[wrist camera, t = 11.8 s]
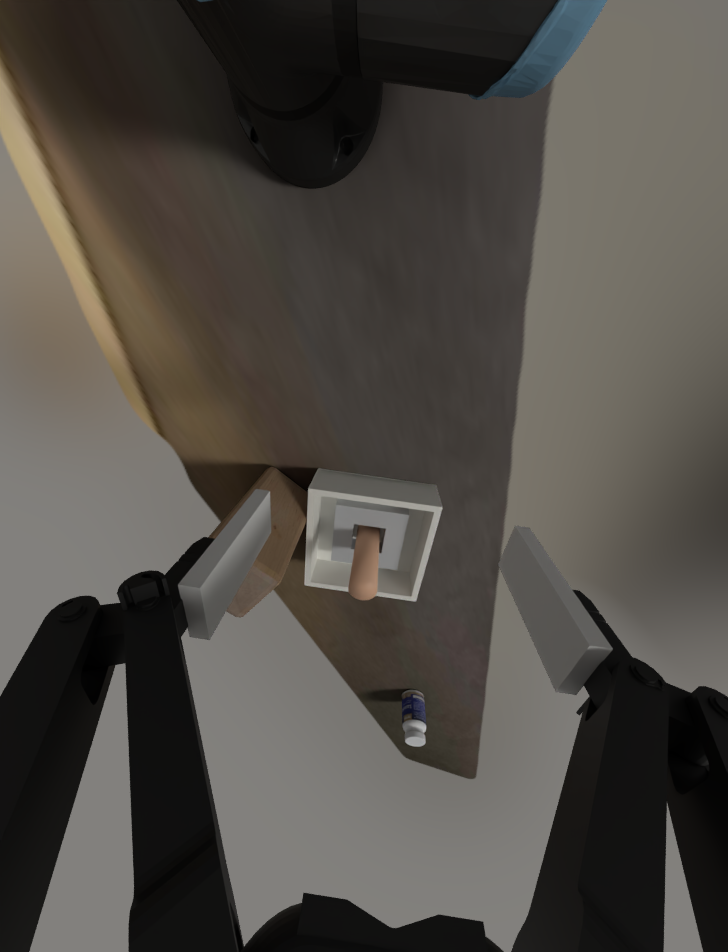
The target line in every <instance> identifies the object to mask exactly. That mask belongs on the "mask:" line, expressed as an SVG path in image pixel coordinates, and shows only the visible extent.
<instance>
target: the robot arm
mask: <svg viewBox="0 0 728 952" xmlns="http://www.w3.org/2000/svg"><path fill="white" fill-rule="evenodd" d="M177 1H178V2H179V4H180V5H181V7H182V8H183V10H184V11H185V13H186V14H187V16H188V17H189V19H190V20H191V22H192V23H193V25H194V26H195V27H196V29H197V30H198V32H199V33H200V35H201V36H202V38H203V39H204V41H205V42H206V44H207V45H208V47H209V48H210V50H211V51H212V53H213V54H214V56H215V57H216V58H217V60H218V61H219V63H220V64H221V66H222V67H223V69H224V70H225V72H226V74H227V78H228V82H229V87H230V91H231V95H232V100H233V103H234V107H235V110H236V113H237V115H238V118H239V120H240V123H241V125H242V127H243V129H244V131H245V133H246V135H247V137H248V139H249V141H250V142H251V144H252V145H253V147H254V148H255V150H256V151H257V152H258V154H259V155H260V156H261V158H262V159H263V160H264V161H265V163H266V164H267V165H268V166H269V167H270V168H271V169H272V170H273V171H274V172H275V173H276V174H277V175H279V176H280V177H281V178H283V179H284V180H286V181H288V182H290V183H292V184H294V185H297V186H301V187H305V188H321V187H325V186H329V185H331V184H334V183H336V182H338V181H339V180H341V179H343V178H344V177H345V176H347V175H348V174H349V173H350V172H351V171H352V170H353V169H354V168H355V167H356V166H357V164H358V163H359V162H360V161H361V159H362V158H363V156H364V155H365V153H366V151H367V149H368V147H369V145H370V143H371V141H372V138H373V136H374V133H375V130H376V127H377V123H378V119H379V115H380V109H381V102H382V88H383V82H386V83H393V84H400V85H408V86H415V87H422V88H429V89H436V90H443V91H450V92H457V93H464V94H469V96H470V97H471V98H473V99H476V100H480V99H486V98H488V97H490V96H499V97H515V98H522V97H525V96H527V95H530V94H533V93H535V92H536V91H538V90H540V89H541V88H543V87H544V86H545V85H546V84H548V83H549V82H550V81H551V80H552V79H553V78H554V77H555V76H556V75H557V74H558V72H559V71H560V70H561V69H562V68H563V67H564V65H565V64H566V63H567V61H568V60H569V59H570V57H571V56H572V55H573V53H574V52H575V51H576V49H577V48H578V47H579V45H580V44H581V42H582V40H583V39H584V37H585V36H586V34H587V33H588V31H589V30H590V28H591V27H592V25H593V23H594V22H595V20H596V18H597V17H598V15H599V14H600V12H601V10H602V8H603V7H604V5H605V3H606V2H607V0H177ZM270 533H271V507H270V491H267V490H260V489H255V491H254V492H253V493H252V494H251V496H250V497H249V498H248V499H247V500H246V502H245V503H244V504H243V505H242V507H241V508H240V509H239V510H238V511H237V513H236V514H235V515H234V516H233V518H232V519H231V520H230V521H229V523H228V524H227V525H226V526H225V527H224V529H223V530H222V531H221V532H220V534H219V535H218V536H217V537H216V538H215V539H214V538H207V537H203V538H202V539H200V540H198V541H197V542H195V543H193V544H192V545H191V547H190V548H189V549H188V550H187V551H186V552H185V554H183V555H182V556H181V558H180V559H179V561H178V562H176V563H175V564H174V565H173V566H172V568H171V569H170V570H169V571H168V572H167V573H166V574H165V575H164V574H163V573H161V572H159V571H145V572H141V573H138V574H135V575H133V576H131V577H130V578H128V579H127V580H125V581H124V582H123V583H122V584H121V585H120V587H119V589H118V592H117V594H118V597H119V600H120V603H114V604H106V605H100V604H99V602H98V600H97V599H96V598H95V597H92V596H79V597H76V598H72V599H69V600H67V601H65V602H63V603H61V604H59V605H58V606H56V607H55V608H54V609H52V610H51V611H50V612H49V614H48V615H47V616H46V617H45V619H44V620H43V622H42V624H41V626H40V628H39V629H38V631H37V633H36V635H35V636H34V638H33V640H32V642H31V643H30V645H29V647H28V649H27V650H26V652H25V654H24V656H23V657H22V659H21V661H20V663H19V664H18V666H17V668H16V670H15V671H14V673H13V675H12V677H11V678H10V680H9V682H8V684H7V686H6V687H5V689H4V691H3V693H2V694H1V696H0V952H29V951H30V947H31V944H32V941H33V937H34V934H35V930H36V927H37V924H38V920H39V917H40V914H41V910H42V907H43V904H44V901H45V897H46V894H47V891H48V887H49V884H50V880H51V877H52V874H53V871H54V867H55V864H56V861H57V858H58V854H59V851H60V847H61V844H62V841H63V838H64V834H65V831H66V827H67V824H68V821H69V817H70V814H71V811H72V808H73V804H74V801H75V798H76V794H77V791H78V788H79V784H80V781H81V778H82V774H83V771H84V768H85V764H86V761H87V758H88V754H89V751H90V748H91V745H92V741H93V738H94V735H95V731H96V728H97V725H98V721H99V718H100V715H101V711H102V708H103V705H104V701H105V698H106V695H107V691H108V688H109V685H110V681H111V678H112V675H113V671H114V668H115V665H117V664H123V663H126V689H127V715H128V740H129V766H130V790H131V817H132V842H133V867H134V899H133V903H132V906H131V910H130V916H129V952H503V951H502V950H501V949H500V948H499V947H498V946H497V945H496V944H495V943H493V942H492V941H491V940H490V939H488V938H487V937H485V930H484V924H483V922H481V921H475V920H469V919H462V918H456V917H451V916H444V915H436V916H433V917H430V918H427V919H424V920H421V921H418V922H414V923H412V924H409V925H405V926H402V927H399V928H391V927H389V926H387V925H385V924H384V923H382V922H381V921H379V920H378V919H376V918H375V917H373V916H371V915H370V914H368V913H367V912H365V911H364V910H362V909H361V908H359V907H357V906H356V905H354V904H353V903H351V902H350V901H348V900H345V899H339V898H332V897H327V896H321V895H314V894H308V893H304V894H303V899H302V903H300V904H297V905H294V906H290V907H289V908H287V909H285V910H283V911H281V912H279V913H278V914H277V915H275V916H274V917H272V918H271V919H270V920H268V921H267V922H266V923H265V924H264V925H263V926H262V927H261V928H260V929H259V930H258V931H257V932H256V933H255V934H254V935H253V937H252V938H251V939H250V940H249V941H248V943H247V944H246V945H245V946H244V945H243V940H242V935H241V930H240V925H239V920H238V916H237V910H236V905H235V901H234V896H233V891H232V887H231V882H230V878H229V874H228V869H227V864H226V860H225V854H224V849H223V845H222V839H221V834H220V829H219V825H218V819H217V814H216V810H215V804H214V799H213V794H212V789H211V785H210V779H209V775H208V770H207V765H206V760H205V755H204V750H203V745H202V740H201V735H200V730H199V725H198V720H197V715H196V710H195V705H194V700H193V695H192V690H191V685H190V680H189V675H188V670H187V665H186V660H185V655H184V651H183V645H182V640H181V636H182V635H183V633H184V632H185V630H186V629H187V627H188V631H189V636H190V637H194V638H200V639H207V640H210V638H211V637H212V635H213V633H214V631H215V630H216V628H217V626H218V624H219V623H220V621H221V619H222V617H223V616H224V614H225V612H226V610H227V609H228V607H229V605H230V603H231V602H232V600H233V598H234V596H235V595H236V593H237V591H238V589H239V588H240V586H241V584H242V582H243V581H244V579H245V577H246V575H247V574H248V572H249V570H250V568H251V567H252V565H253V563H254V561H255V560H256V558H257V556H258V554H259V553H260V551H261V549H262V547H263V546H264V544H265V542H266V540H267V539H268V537H269V535H270ZM498 565H499V568H500V570H501V572H502V574H503V576H504V578H505V581H506V583H507V585H508V587H509V590H510V592H511V594H512V596H513V598H514V601H515V603H516V605H517V607H518V610H519V612H520V614H521V616H522V618H523V620H524V623H525V625H526V627H527V629H528V632H529V634H530V636H531V638H532V640H533V642H534V645H535V647H536V649H537V652H538V654H539V656H540V658H541V660H542V663H543V665H544V667H545V669H546V671H547V674H548V676H549V678H550V680H551V682H552V685H553V687H554V689H555V691H556V692H560V693H568V694H574V695H576V694H577V693H578V692H579V691H580V690H581V688H582V687H583V686H585V688H586V690H587V692H588V694H589V696H590V697H589V698H588V699H587V700H586V701H585V703H584V704H583V705H582V706H581V707H580V708H579V710H578V711H577V714H578V715H580V714H581V713H582V712H583V713H582V717H581V720H580V724H579V728H578V732H577V735H576V739H575V743H574V746H573V750H572V754H571V758H570V761H569V765H568V769H567V773H566V776H565V780H564V784H563V787H562V791H561V795H560V799H559V802H558V806H557V810H556V814H555V817H554V821H553V825H552V829H551V832H550V836H549V840H548V844H547V847H546V851H545V854H544V858H543V863H542V866H541V870H540V873H539V877H538V881H537V885H536V888H535V892H534V896H533V899H532V903H531V907H530V910H529V913H528V916H527V918H526V921H525V923H524V924H523V926H522V928H521V930H520V932H519V933H518V935H517V938H516V940H515V943H514V945H513V948H512V951H511V952H663V948H664V903H665V858H666V857H665V856H666V813H667V803H668V807H669V811H670V816H671V820H672V824H673V828H674V832H675V836H676V841H677V845H678V848H679V853H680V857H681V861H682V865H683V870H684V874H685V877H686V882H687V886H688V890H689V894H690V899H691V902H692V907H693V911H694V915H695V919H696V923H697V927H698V932H699V936H700V940H701V944H702V948H703V952H728V697H727V696H725V695H724V694H722V693H720V692H718V691H717V690H714V689H712V688H709V687H706V686H699V687H698V688H697V689H696V690H694V691H693V692H692V693H690V692H687V691H685V690H682V689H680V688H678V687H675V686H673V685H670V684H668V683H666V682H665V681H664V680H663V678H662V677H661V676H660V675H659V674H658V673H657V672H656V671H655V670H654V669H653V668H652V667H650V666H649V665H647V664H646V663H644V662H642V661H640V660H638V659H636V658H633V657H632V656H631V655H630V654H629V652H628V651H627V649H626V648H625V647H624V645H623V644H622V643H621V641H620V640H619V639H618V637H617V636H616V635H615V633H614V632H613V630H612V629H611V628H610V626H609V625H608V624H607V623H606V621H605V619H604V618H603V617H602V615H601V614H599V611H598V610H597V608H596V607H595V606H594V604H593V603H592V602H591V600H589V599H588V598H587V597H586V596H585V595H584V594H583V593H581V592H580V591H578V590H572V589H571V587H570V586H569V584H568V583H567V581H566V580H565V579H564V577H563V576H562V574H561V573H560V571H559V570H558V569H557V567H556V566H555V564H554V563H553V561H552V560H551V558H550V557H549V555H548V554H547V553H546V551H545V550H544V548H543V547H542V545H541V544H540V542H539V541H538V539H537V538H536V536H535V535H534V534H533V532H532V531H531V529H530V528H527V527H520V526H515V527H514V530H513V532H512V534H511V537H510V539H509V541H508V544H507V546H506V548H505V550H504V553H503V555H502V557H501V560H500V562H499V564H498Z"/></svg>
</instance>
